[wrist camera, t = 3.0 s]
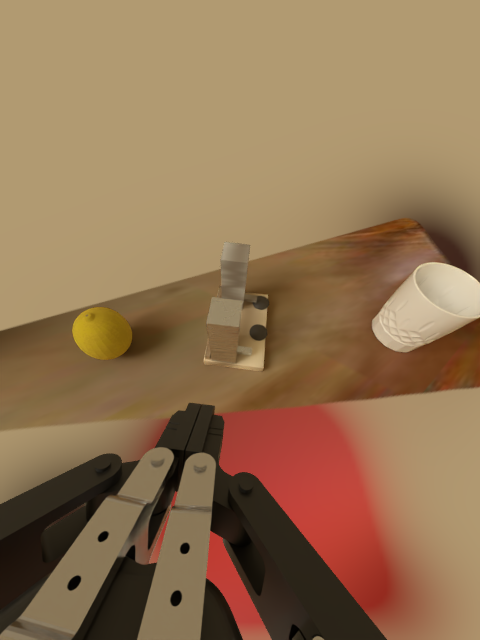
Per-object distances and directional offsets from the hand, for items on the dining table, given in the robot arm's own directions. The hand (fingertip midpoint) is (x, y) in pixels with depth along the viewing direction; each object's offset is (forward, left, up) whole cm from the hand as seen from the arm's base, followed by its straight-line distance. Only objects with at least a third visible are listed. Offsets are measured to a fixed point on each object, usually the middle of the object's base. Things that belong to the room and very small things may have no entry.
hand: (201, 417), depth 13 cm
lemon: (-14, +9, -14) cm, 22 cm away
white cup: (+24, +17, -14) cm, 32 cm away
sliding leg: (0, +10, -12) cm, 16 cm away
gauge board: (+1, +14, -14) cm, 20 cm away
